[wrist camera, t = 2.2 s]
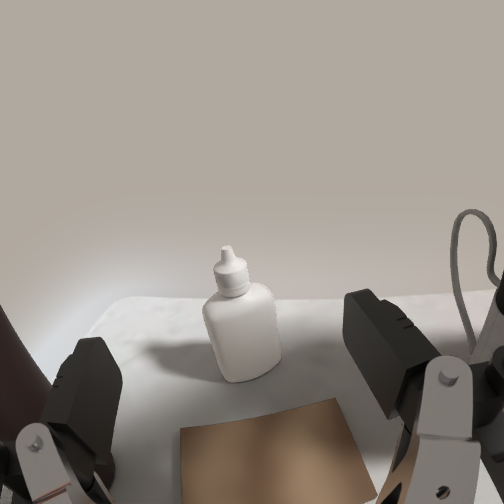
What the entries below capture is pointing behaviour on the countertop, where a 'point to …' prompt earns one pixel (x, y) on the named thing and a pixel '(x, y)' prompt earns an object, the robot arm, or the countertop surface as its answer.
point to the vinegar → (26, 391)
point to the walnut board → (275, 460)
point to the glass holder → (500, 314)
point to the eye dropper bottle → (241, 322)
